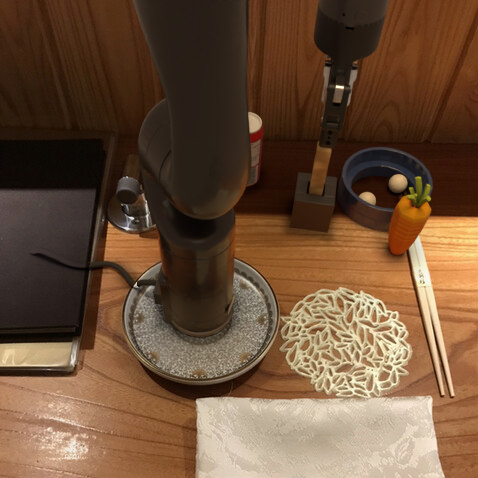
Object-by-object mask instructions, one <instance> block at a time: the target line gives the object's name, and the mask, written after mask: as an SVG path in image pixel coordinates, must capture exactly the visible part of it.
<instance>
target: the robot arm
mask: <svg viewBox="0 0 478 478" xmlns="http://www.w3.org/2000/svg"><path fill="white" fill-rule="evenodd" d="M131 1H132V4H133V8H134V11H135V14H136V17H137V20H138V22H139V26H140V29H141V31H142V34H143V37H144V40H145V43H146V46H147V49H148V52H149V54H150V56H151V60H152V63H153V65H154V67H155V71H156V73H157V76H158V78H159V79H158V80H159V82H160V84H161V87H162V90H163V91H162V92H163V94H164V98H163V99H162V100H160V101H158V102H157V103H156V104H155V105H154V106H153V107H152V108H151V109H150V110H149V112H148V113H147V115H146V116H145V118H144V120H143V121H142V124H141V126H140V129H139V133H138V138H137V156H138V163H139V170H140V174H141V179H142V185H143V189H144V195H145V199H146V204H147V207H148V210H149V213H150V216H151V218H152V221H153V223H154V226H155V228H156V235H157V241H158V248H159V255H160V263H161V265H160V267H159V272H158V275H157V279H151V278H150V279H149V278H147V279H146V278H144V279H143V278H142V279H138V280H137V281H136V280H135V279H134V278H133V277H132V276H131V275H130V274H129V272H128V271H127V270H126V269H125V268H124V267H123V266H122V265H120V264H119V263H117V262H114V261H110V260H97V261H91V263H90V262H89V263H90V265H89V268H88V269H95V268H111V269H113V270H115V271H117V272H118V273H119V275H121V276H122V277H123V279H124V280H125V282H126V283H128V285H129V286H131V287H132V286H133V285H134V283H135V282H137V286H138V287H139V288H138V289H140V288H141V287H143V286H146V287H154V289H153V291H152V295H153V303H154V305H157V306H161V307H162V312H163V319H164V322H165V323H168V324H172V325H173V327H174V328H175V329H177V330H178V331H179V332H180V333H182V334H185V335H187V336H191V337H197V338H203V337H209V336H213V335H215V334H217V333H219V332H221V331H222V330H224V329H225V328H226V326H227V325H229V323H230V321H231V320H232V317H233V314H234V302H235V300H236V294H237V293H236V291H235V292H234V281H235V279H234V277H235V253H236V225H237V224H236V223H237V221H236V212H235V209H234V206H236V205H237V203H238V202H239V201H240V199H241V198H242V196H243V195H244V193H245V191H246V189H247V188H248V187H247V184H248V181H249V178H250V173H251V165H252V156H251V141H250V128H249V115H248V112H249V101H248V63H249V37H250V34H249V33H250V0H131ZM317 1H318V2H317V9H316V15H315V23H314V29H313V42H314V45H315V47H316V48H317V49H318V50H319V51H320V52H321V53H322V54H324V55H325V56H324V57H325V58H324V65H323V73H322V77H323V79H324V80H323V85H322V91H321V100H320V102H321V103H322V104H323V112H322V116H321V118H320V132H319V133H320V134H319V138H318V141H319V146H320V147H322V148H329V149H331V150H333V149H335V148H336V147H337V142H338V137H339V134H340V133H342V131H343V130H344V121H345V116H346V112H347V107H348V106H350V103H351V99H352V98H351V97H352V94H353V93H352V92H353V87H354V83H355V82H356V80H357V77H358V71H359V65H358V63H359V61H360V60H364V59H365V58H368V57H370V56H372V54H374V53H375V52H376V50H377V49H378V47H379V44H380V40H381V36H382V32H383V28H384V24H385V20H386V16H387V12H388V8H389V4H390V0H317Z"/></svg>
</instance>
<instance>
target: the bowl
mask: <svg viewBox="0 0 478 478" xmlns="http://www.w3.org/2000/svg"><path fill="white" fill-rule="evenodd" d="M397 174H400V175H403V176H405V178H406V179H407V187H406V189H405V190H407V192H408V193H409V195H411V193H410V190H409V187H413V188H414V192H415V194H416V183H415V177H421V181H422V194H421V197H422V195H423V192H424V189H425V186H426V184H429V185H430V186H431V189H430V192H429V194H428V196H430V197H431V194H432V191H433V189H434V188H433V187H434V185H433V181H434V180H433V178H432V175H431V173H430V171H429V169H428V168H427V167H426V166H425V164H424V163H423V162H422V161H421V160H420V159H418V158H417V157H415V156H414V155H411V154H410V153H408V152H406V151H403V150H400V149H397V148H393V147H385V146H375V147H373V146H372V147H368V148H363V149H361V150H359V151H356V152H355V153H353V154H352V155H350V156H349V157H348V158H347V159H346V161H345V162H344V165H343V167H342V169H341V173H340V177H339V181H338V187H337V190H336V198H337V202H338V206H339V208H340V209H341V211H342V212H343V213H344V214H345V215H346V216H347V217H348V218H349V219H350V220H351V221H352V222H355V223H356V224H357V225H359V226H361V227H363V228H366V229H369V230H372V231H377V232H384V233H385V232H386V233H389V226H390V222H391V219H392V216H393V213H394V210H395V208H390V207H381V206H378V205H376V204H375V205H372V204H370V203H368V202H366V201H364V200H363V199H361V198H360V197H359V195H358V194H356V192H354V191H353V189H352V186H354V184H355V183H356V182H357V181H359V180H361V179H363V178H368V177H384V178H388V179H390V178H391V177H392V176H394V175H397Z"/></svg>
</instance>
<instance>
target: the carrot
mask: <svg viewBox="0 0 478 478" xmlns="http://www.w3.org/2000/svg"><path fill="white" fill-rule="evenodd" d="M415 183H416V194H415V192H414V188H413V187H409V190H410V193H411V195H410V193H409V194H406V195H404V196H402V197H401V198H400V200H399V201H398V203H397V204H396V205H395V206H394V209H395V210H394V213H393V216H392V219H391V222H390V226H389V232H388V236H387V237H388V238H387V241H388V246H389V250H390V252H391V254H392V255H395V256H399V255H402V254H404V253H405V252H406V251H408V250H409V249H410V248H411V247H412V245H413V244H414V243H415V241H416V240H417V239H418V237H419V236H420V235H421V232H422V231H423V229H424V227H425V226H426V224H427V222H428V221H429V218H430V216H431V214H432V207H431V206H430V204H429V202H430V201H431V200H432V198H431V195H430V196H428V194H429V192H430V189H431V186H430V185H429V184H426V186H425V189H424V192H423V195H422V197H421V194H422V181H421V177H415Z"/></svg>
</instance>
